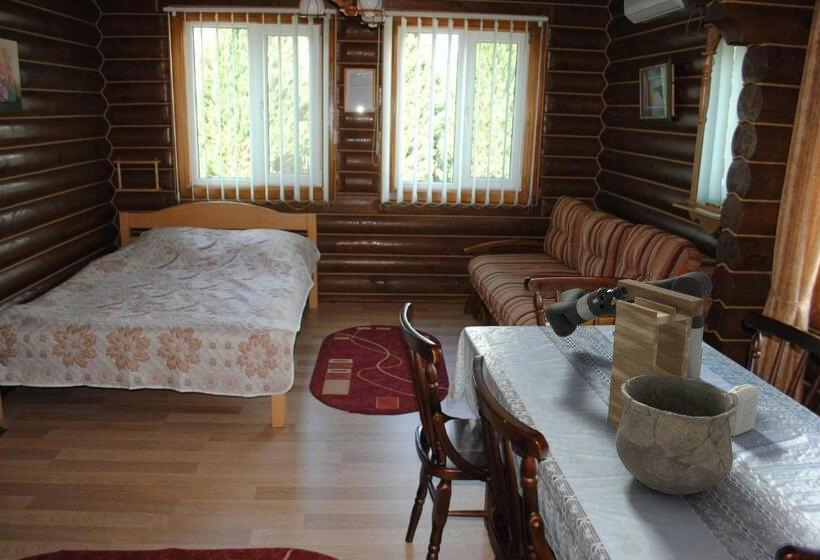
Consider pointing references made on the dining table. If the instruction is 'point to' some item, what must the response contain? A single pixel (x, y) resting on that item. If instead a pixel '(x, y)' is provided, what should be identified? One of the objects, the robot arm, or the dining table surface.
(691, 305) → the block
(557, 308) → the robot arm
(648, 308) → the rack
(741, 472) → the dining table surface
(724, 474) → the pot
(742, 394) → the photo printer
